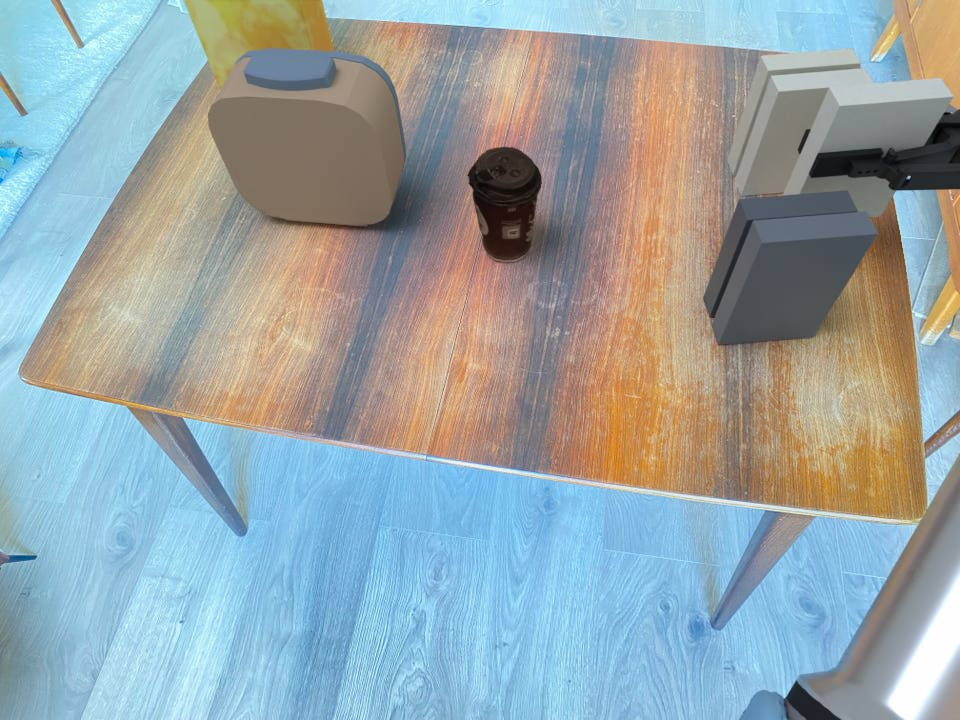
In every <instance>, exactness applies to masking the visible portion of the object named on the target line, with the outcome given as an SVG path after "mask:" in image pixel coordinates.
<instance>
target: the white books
mask: <svg viewBox="0 0 960 720" xmlns="http://www.w3.org/2000/svg"><path fill="white" fill-rule="evenodd" d="M861 65H862V61H861V59H860V58H859V56H858V55H857V53H856V52H855V50H854V48H853V47H852V48H851V47H849V48H838V49H827V50H826V49H825V50H813V51H802V52H790V53H789V52H788V53H777V54H776V53H775V54H765V55H760V58H759V61H758V64H757V67H756V69H755V73H754V76H753V79H752V81H751V85H750V89H749V91H748V95H747V97H746V101H745V104H744V107H743V109H742V113H741V117H740V120H739V123H738V126H737V129H736V132H735V136H734V138H733V141H732V144H731V147H730V151H729V154H728V157H727V160H726V162H727V165H728V167H729V170H730V173H731V175H732V176H735V179H734V182H735V186H736V189H737V190H738V193H739V195H740V197H747V196H760V195H772V194H773V195H774V194H783V193H784V191H785V189H786V186H787V184H788V182H789V179H790V177H791V175H792V173H793V170H794V168H795V166H796V163H797V161H798V159H799V156H800V154H799V152H798V147H799V145H800V143H801V140H802V138H803V136H804V133H805V131H806V129H811V128H812V126H813V124H814V121H815V119H816V117H817V114H818V112H819V110H820V107H821V105H822V103H823V100H824V98H825V96H826V93H827V91H828V89H829V87H835V86H847V85H859V84H871V83H875V82H874V81H873V79H872V76H871V75H870V74H869V72H868V70H867V69H866V67H862V68H861Z"/></svg>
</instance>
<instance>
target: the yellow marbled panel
mask: <svg viewBox="0 0 960 720" xmlns="http://www.w3.org/2000/svg"><path fill="white" fill-rule="evenodd" d="M183 3H184V6H185V8H186V10H187V13H188V15H189V17H190V20H191V22H192V24H193V27H194V30H195V32H196V34H197V37H198V39H199V42H200V44H201V46H202V49H203V51H204V54H205V56H206V58H207V61H208V64H209V66H210V69H211V71H212V73H213V75H214V78H215V80H216V84H217V85H218V88H219V90H220V89H221V88H222V86H223V84H224V82H225V81H226V79H227V77H228V75H229V74H230V72H231V70H232V69H233V67H234V65H235V63H236V62H237V60H238V59H239V58H240V57H241V56H242V55H244V54H245V53H246V52H248V51H252V50H261V49H270V48H276V49H297V50H318V51H335V48H334V44H333V40H332V36H331V32H330V28H329V27H330V26H329V23H328V20H327V15H326V10H325V7H324V3H323V0H183Z"/></svg>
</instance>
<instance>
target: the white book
mask: <svg viewBox="0 0 960 720" xmlns="http://www.w3.org/2000/svg"><path fill="white" fill-rule="evenodd" d="M953 98H954V94H953V93H952V92H951V90H950V89H949V88H948V86H947V85H946V83H945V82H944V80H943V79H942V78H941V77H933V78H920V79H909V80H898V81H886V82H885V81H884V82H874V83H871V84H859V85H847V86H835V87H829V89H828V91H827V93H826V96H825V98H824V100H823V103H822V105H821V107H820V110H819V112H818V114H817V117H816V119H815V121H814V124H813V126H812V128H811V131H810V133H809V135H808V138H807V140H806V142H805V145H804V147H803V149H802V152H801V154H800V156H799V159H798V161H797V163H796V166H795V168H794V170H793V173H792V175H791V177H790V179H789V182H788V184H787V186H786V189H785V191H784V193H782V196H783V195H795V194H807V193H820V192H832V191H845V190H847V191H848V192H849V194H850V196H851V198H852V200H853V202H854V204H855V206H856V208H857V210H858V212H865V211H866V212H867V213H868V215H869V217H870V218H878V217H882V215H883V214H884V212H885V210H886V209H887V207H888V206H889V203H890V202H891V200H892V199H893V197H894V195H895V194H896V192H897V191H895V190H891V189H890V188H889V187H888V185H889V182H888V181H887V180H886V179H880V178H878V177H877V176H873V177H861V178H860V177H859V178H851V177H848V175H843V176H831V177H819V178H811V177H810V175H809V171H810V169H811V167H812V165H813V163H814V160H815V158H816V156H817V154H818V153H825V152H837V151H849V150H861V149H873V148H881V149H882V150H883V152H884V153H883V155H882V157H885V156H886V154H887V152H888V150H889V149H890V148H891V147H892V150H893V149H894V150H895V151H896V152H897V151H902V150H907V149H912V148H917V147H922V146H924V145H925V143H926V141H927V140H928V138H929V136H930V135H931V133H932V131H933V130H934V128H935V127H936V125H937V123H938V122H939V120H940V118H941V117H942V115H943V113H944V112H945V110H946V109H947V107H948V105H949V104H950V105H951V102H952V101H953ZM892 150H891V151H892Z"/></svg>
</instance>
